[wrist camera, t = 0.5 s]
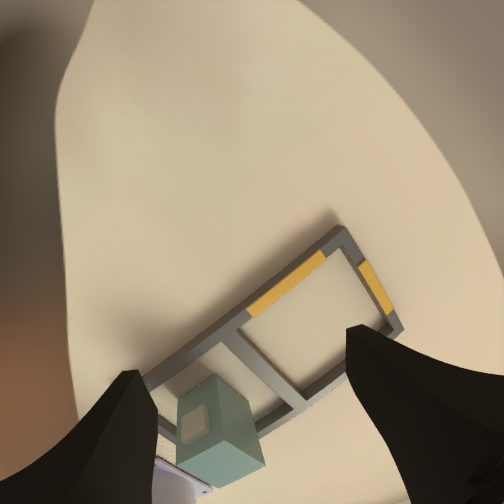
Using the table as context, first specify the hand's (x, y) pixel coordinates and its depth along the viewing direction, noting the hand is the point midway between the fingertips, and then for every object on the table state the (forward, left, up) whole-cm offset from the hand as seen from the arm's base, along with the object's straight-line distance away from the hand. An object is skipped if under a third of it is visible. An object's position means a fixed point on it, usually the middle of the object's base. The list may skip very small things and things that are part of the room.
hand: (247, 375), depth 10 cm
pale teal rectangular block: (-7, -7, -11) cm, 15 cm away
